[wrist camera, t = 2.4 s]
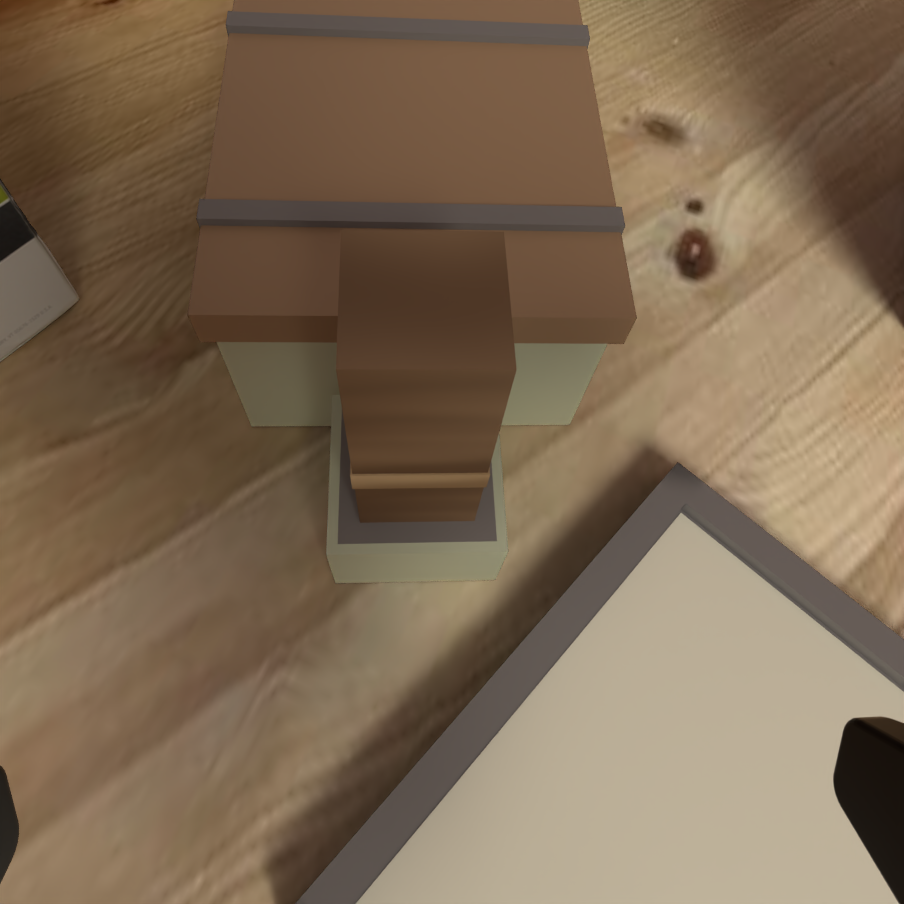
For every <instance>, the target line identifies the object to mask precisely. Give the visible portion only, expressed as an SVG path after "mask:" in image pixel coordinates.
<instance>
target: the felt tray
mask: <svg viewBox="0 0 904 904" xmlns="http://www.w3.org/2000/svg"><path fill="white" fill-rule="evenodd" d="M878 716H882V717H887V718H891V719H894V720H897V721H900V722H902V723H904V639H903V638H901V637H900V636H899V635H897V634H896V633H895V632H894V631H892V630H891V629H890V628H889V627H887V626H886V625H885V624H883V623H882V622H881V621H880V620H878V619H877V618H876V617H874V616H873V615H872V614H871V613H869V612H868V611H867V610H866V609H864V608H863V607H862V606H860V605H859V604H858V603H857V602H855V601H854V600H853V599H852V598H850V597H849V596H848V595H846V594H845V593H844V592H843V591H841V590H840V589H839V588H838V587H836V586H835V585H834V584H832V583H831V582H830V581H829V580H827V579H826V578H825V577H824V576H822V575H821V574H820V573H818V572H817V571H816V570H815V569H813V568H812V567H811V566H809V565H808V564H807V563H806V562H804V561H803V560H802V559H801V558H799V557H798V556H797V555H795V554H794V553H793V552H792V551H790V550H789V549H788V548H787V547H785V546H784V545H783V544H781V543H780V542H779V541H778V540H776V539H775V538H774V537H773V536H771V535H770V534H769V533H767V532H766V531H765V530H764V529H762V528H761V527H760V526H759V525H757V524H756V523H755V522H753V521H752V520H751V519H750V518H748V517H747V516H746V515H744V514H743V513H742V512H741V511H739V510H738V509H737V508H736V507H734V506H733V505H732V504H730V503H729V502H728V501H727V500H725V499H724V498H723V497H722V496H720V495H719V494H718V493H716V492H715V491H714V490H713V489H711V488H710V487H709V486H708V485H706V484H705V483H704V482H702V481H701V480H700V479H699V478H697V477H696V476H695V475H694V474H692V473H691V472H690V471H688V470H687V469H686V468H685V467H683V466H682V465H681V464H679V463H678V462H677V464H676V465H675V466H674V467H673V468H672V469H671V471H670V472H669V473H668V474H667V475H666V476H665V477H664V479H663V480H662V481H661V482H660V483H659V484H658V486H657V487H656V488H655V489H654V490H653V491H652V492H651V494H650V495H649V496H648V497H647V498H646V499H645V501H644V502H643V503H642V504H641V505H640V506H639V507H638V509H637V510H636V511H635V512H634V513H633V514H632V516H631V517H630V518H629V519H628V520H627V521H626V522H625V524H624V525H623V526H622V527H621V528H620V529H619V531H618V532H617V533H616V534H615V535H614V536H613V537H612V539H611V540H610V541H609V542H608V543H607V544H606V546H605V547H604V548H603V549H602V550H601V551H600V552H599V554H598V555H597V556H596V557H595V558H594V559H593V561H592V562H591V563H590V564H589V565H588V566H587V567H586V569H585V570H584V571H583V572H582V573H581V574H580V576H579V577H578V578H577V579H576V580H575V581H574V582H573V584H572V585H571V586H570V587H569V588H568V589H567V591H566V592H565V593H564V594H563V595H562V596H561V597H560V599H559V600H558V601H557V602H556V603H555V604H554V606H553V607H552V608H551V609H550V610H549V611H548V612H547V614H546V615H545V616H544V617H543V618H542V619H541V621H540V622H539V623H538V624H537V625H536V626H535V627H534V629H533V630H532V631H531V632H530V633H529V634H528V636H527V637H526V638H525V639H524V640H523V641H522V642H521V644H520V645H519V646H518V647H517V648H516V649H515V651H514V652H513V653H512V654H511V655H510V656H509V657H508V659H507V660H506V661H505V662H504V663H503V664H502V666H501V667H500V668H499V669H498V670H497V671H496V672H495V674H494V675H493V676H492V677H491V678H490V679H489V681H488V682H487V683H486V684H485V685H484V686H483V687H482V689H481V690H480V691H479V692H478V693H477V694H476V696H475V697H474V698H473V699H472V700H471V701H470V702H469V704H468V705H467V706H466V707H465V708H464V709H463V711H462V712H461V713H460V714H459V715H458V716H457V717H456V719H455V720H454V721H453V722H452V723H451V724H450V726H449V727H448V728H447V729H446V730H445V731H444V732H443V734H442V735H441V736H440V737H439V738H438V739H437V741H436V742H435V743H434V744H433V745H432V746H431V747H430V749H429V750H428V751H427V752H426V753H425V754H424V756H423V757H422V758H421V759H420V760H419V761H418V762H417V764H416V765H415V766H414V767H413V768H412V769H411V771H410V772H409V773H408V774H407V775H406V776H405V777H404V779H403V780H402V781H401V782H400V783H399V784H398V786H397V787H396V788H395V789H394V790H393V791H392V792H391V794H390V795H389V796H388V797H387V798H386V799H385V801H384V802H383V803H382V804H381V805H380V806H379V807H378V809H377V810H376V811H375V812H374V813H373V814H372V816H371V817H370V818H369V819H368V820H367V821H366V822H365V824H364V825H363V826H362V827H361V828H360V829H359V831H358V832H357V833H356V834H355V835H354V836H353V837H352V839H351V840H350V841H349V842H348V843H347V844H346V846H345V847H344V848H343V849H342V850H341V851H340V852H339V854H338V855H337V856H336V857H335V858H334V859H333V861H332V862H331V863H330V864H329V865H328V866H327V867H326V869H325V870H324V871H323V872H322V873H321V874H320V876H319V877H318V878H317V879H316V880H315V881H314V882H313V884H312V885H311V886H310V887H309V888H308V889H307V891H306V892H305V893H304V894H303V895H302V896H301V897H300V899H299V900H298V901H297V902H296V903H295V904H899V903H898V902H897V900H896V898H895V897H894V895H893V893H892V892H891V890H890V888H889V887H888V885H887V883H886V882H885V880H884V878H883V876H882V875H881V873H880V871H879V870H878V868H877V866H876V865H875V863H874V861H873V860H872V858H871V856H870V855H869V853H868V851H867V850H866V848H865V846H864V845H863V843H862V841H861V840H860V838H859V836H858V835H857V833H856V831H855V830H854V828H853V826H852V825H851V823H850V821H849V820H848V818H847V816H846V815H845V813H844V811H843V810H842V808H841V806H840V804H839V802H838V800H837V797H836V795H835V791H834V786H833V774H834V769H835V764H836V760H837V755H838V751H839V747H840V742H841V738H842V733H843V729H844V726H845V724H846V723H847V722H848V721H849V720H851V719H852V718H859V717H878Z"/></svg>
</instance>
